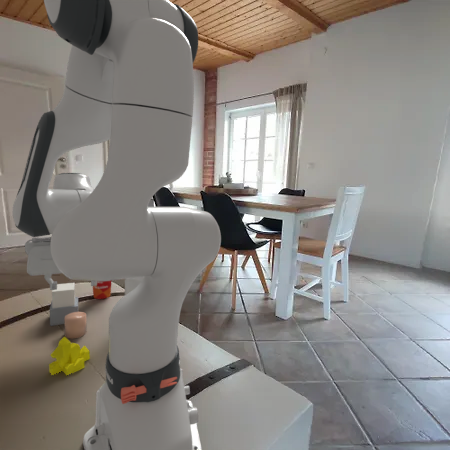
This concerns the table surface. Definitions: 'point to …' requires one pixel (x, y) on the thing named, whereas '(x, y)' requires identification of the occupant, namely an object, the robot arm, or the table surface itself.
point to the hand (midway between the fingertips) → (74, 287)
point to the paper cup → (102, 290)
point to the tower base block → (61, 313)
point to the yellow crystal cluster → (68, 357)
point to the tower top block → (63, 295)
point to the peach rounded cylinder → (75, 325)
